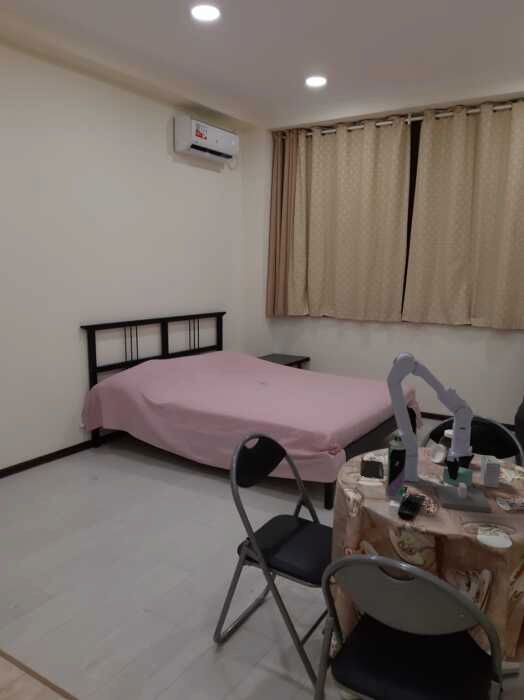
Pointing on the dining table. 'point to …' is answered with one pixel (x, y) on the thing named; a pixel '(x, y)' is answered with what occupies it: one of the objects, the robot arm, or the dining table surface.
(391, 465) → the spray can
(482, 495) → the key board
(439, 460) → the spread jar
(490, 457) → the medicine box
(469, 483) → the keyed cap
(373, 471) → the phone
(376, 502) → the dining table surface
